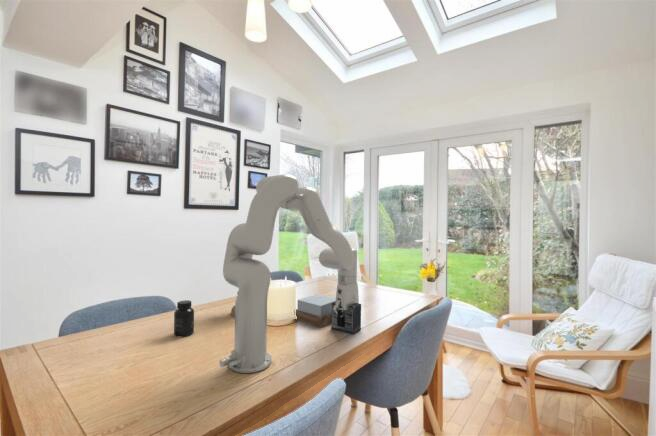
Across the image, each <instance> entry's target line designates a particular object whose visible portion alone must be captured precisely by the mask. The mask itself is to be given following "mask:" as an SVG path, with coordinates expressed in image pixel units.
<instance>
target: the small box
mask: <svg viewBox="0 0 656 436" xmlns="http://www.w3.org/2000/svg"><path fill="white" fill-rule="evenodd" d="M335 305H336V301H335V302H332V321H331V325H330V326H331V327H330V328H331V329H332V330H336V331H339V332H344V333H347V334H352V335H355V334H356V333H359V332H360V331H361V330H362V325H361V323H362V303H355V304H352V305H350V306H348V310H345V313H344V316H343V317H345V326H344V327H340V326H337V316H336V313H335V311H334V310H333V308H334V306H335ZM340 308H342V306H340ZM340 312H341V313H342V310H340Z"/></svg>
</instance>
